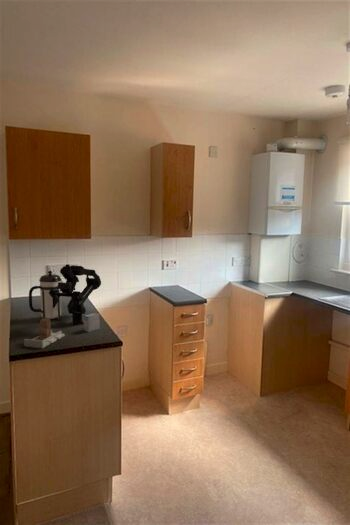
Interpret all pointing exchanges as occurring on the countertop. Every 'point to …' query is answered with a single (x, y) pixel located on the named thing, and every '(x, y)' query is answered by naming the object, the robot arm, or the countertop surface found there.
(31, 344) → the track
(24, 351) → the countertop surface
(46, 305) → the coffee press
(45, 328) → the slider
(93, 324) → the medicine box
